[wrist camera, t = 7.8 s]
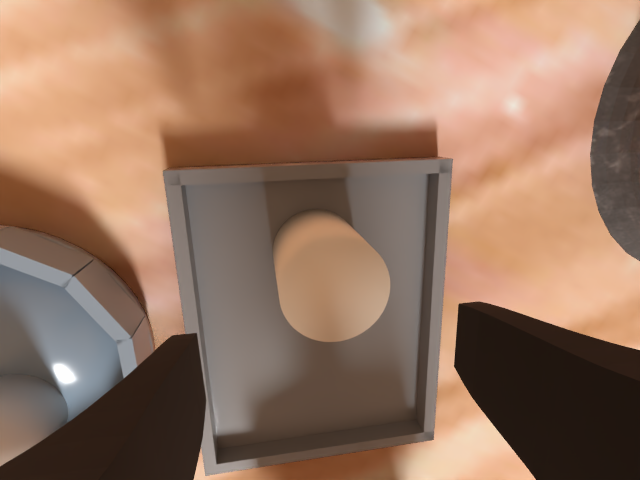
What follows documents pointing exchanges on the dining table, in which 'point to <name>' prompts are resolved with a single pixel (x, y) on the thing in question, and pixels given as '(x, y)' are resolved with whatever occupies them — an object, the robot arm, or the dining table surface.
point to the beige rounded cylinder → (328, 277)
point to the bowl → (67, 318)
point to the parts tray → (275, 331)
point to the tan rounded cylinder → (28, 413)
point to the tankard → (619, 148)
